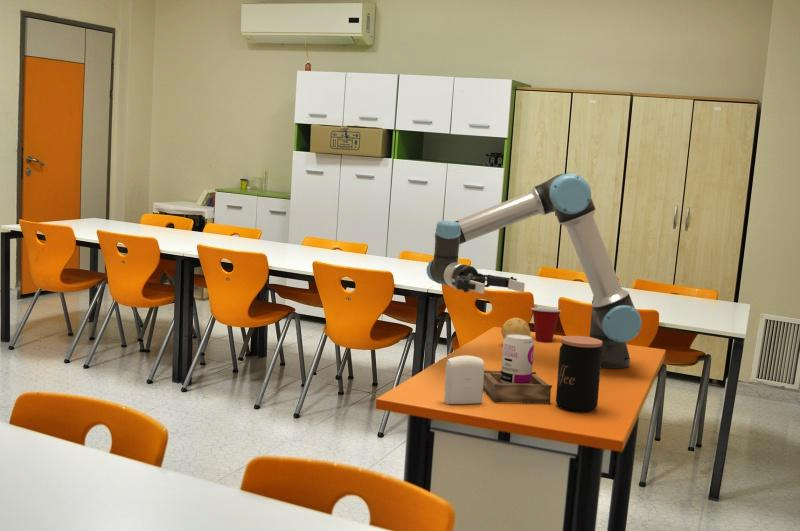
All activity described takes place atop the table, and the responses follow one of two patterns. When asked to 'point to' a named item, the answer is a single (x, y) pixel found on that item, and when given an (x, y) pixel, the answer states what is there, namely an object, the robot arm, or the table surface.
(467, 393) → the white rounded block
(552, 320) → the plastic cup
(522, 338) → the supplement can
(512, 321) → the stress ball
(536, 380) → the crate
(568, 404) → the coffee jar
